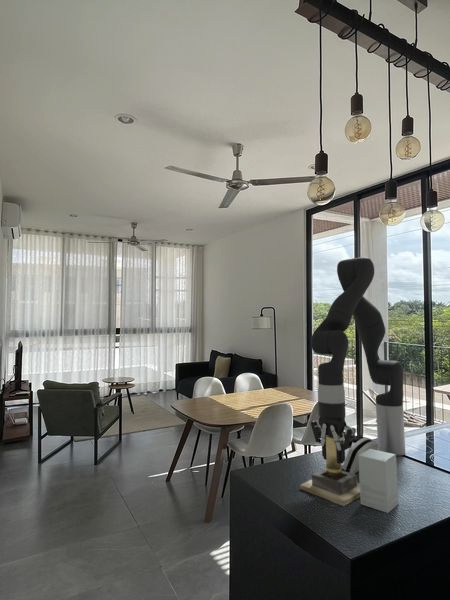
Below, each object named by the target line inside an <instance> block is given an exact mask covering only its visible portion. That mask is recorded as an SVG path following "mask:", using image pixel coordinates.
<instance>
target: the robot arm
mask: <svg viewBox="0 0 450 600" xmlns="http://www.w3.org/2000/svg"><path fill="white" fill-rule="evenodd" d="M336 274H337V278H338V280H339V283H340V286H341V289H342V290H343V292H341V294H339V296H337V297H336V298H335V299H334V301H333V302H332V303H331V306H330V308H329V310H328V313H327V315H326V317H325V318H324V319H323V320H322V321H321V322H320V324H319V325H318V326H317V328H316V329H315V330H314V331H313V333H312V334H311V337H310V347H311V349H312V351H313V352H314V353H315V354H317V355H329V356H330V355H331V356H332V357H331V358H330V361H329V362H323V363H319V365H318V367H317V378H318V379H317V381H318V383H317V384H318V385H317V406H318V407H317V409H318V410H317V411H318V416H319V418H318V420H317V419H316V420H313V421H310V426H311V430H312V433H313V437H314V439H315V443H319V444H320V445H321V456H322V457H323V460H325V461H326V439H325V436H326V435H327V436H332V437H333V438H334V441H335V442H336V445H337V449H338V450H337V463H339V464H343V463H344V462H345V460H346V451H347V450H349V449H350V448H351V447H352V446H353V443H354V438H355V435H356V432H357V430H356V428H355V427H350V426H348V425H347V423H346V392H345V386H344V368H345V367H344V366H345V362H346V361H345V360H346V356H347V352H348V349H349V338H348V336H347V334H346V333H345V332H346V331H347V330H348V328H349V326H350V324H351V321H352V318H353V320H354V321H353V322H354V323H355V328H356V330H357V333H358V335H359V336H358V337H359V338H360V342H361V344H362V348H363V351H364V355H365V360H366V364H367V369H368V373H369V376H370V380H371V381H372V383H374V384H375V385H380V386H389V391H387V392H384V393H380V394H377V395H375V413H376V415H375V417H376V434H377V435H376V436H377V444H378V448H377V450H378V451H382V452H387V453H392V454H396V457H397V456H404V455H405V454H406V440H405V439H406V438H405V437H406V436H405V434H406V433H405V419H404V418H405V417H404V368H403V366H402V362H400V361H398V360H389V359H388V360H387V359H386V360H385V359H380V357H379V348H380V346H381V343H382V342H383V340H384V337H385V335H386V327H385V323H384V319H383V315H382V314H381V311H379V310H378V308H377V307H376V306H375V305H374V304H373V303H371V301H369V300H368V299H367V298H366V297H364V294H365V293H366V292H367V290H368V289H369V287H370V285H371V283H372V282H373V279H374V277H375V265H374V262H373V260H372V259H371V258H369V257H367V256H361V257H353V258H348V259H342V260H341V261H338V263H337V266H336ZM344 432H345V433H344ZM338 436H339V437H340V438H338Z"/></svg>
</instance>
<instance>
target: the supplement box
mask: <svg viewBox="0 0 450 600" xmlns="http://www.w3.org/2000/svg"><path fill="white" fill-rule="evenodd" d="M358 461H359V471H358V475H359V477H358V478H359V479H358V480H359V481H358V482H359V484H360V497H359V498H360V505H363V506H365V507H369V508H372V509H375V510H378V511H380V512H383V513H385V514H386V513H387V514H389V513H390V512H391V511H392V510H393V509H394V508H395V507H397V506H399V503H400V502H399V487H398V486H399V484H398V471H397V470H398V469H397V467H398V466H397V456H396V454H392V453H387V452H382V451H378V449H377V450H373V449H368V450H367V451H365V452H363V453H361V454H360V455H358Z"/></svg>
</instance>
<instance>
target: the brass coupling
mask: <svg viewBox="0 0 450 600" xmlns="http://www.w3.org/2000/svg"><path fill="white" fill-rule="evenodd" d="M338 438H340V437H339V436H338ZM325 439H326V460H325V461H326V462H325V463H326V464H325V465H326V466H325V468H326V473H328V474H330V475H341V474H342V471H343V469H341V464H339V463H337V450H338V449H337V445H336V442H335V441H334V438H333V437H332V436H327V435H326V436H325Z"/></svg>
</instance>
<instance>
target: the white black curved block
mask: <svg viewBox="0 0 450 600" xmlns="http://www.w3.org/2000/svg"><path fill="white" fill-rule="evenodd" d="M368 449H373V450H378V442H377V441H374V440H372V439H371V438H368V437H363V438H360V439H359V440H358V441H356V442H355V443H354V444H352V446H351V448H349V449H348V452H347V455H346V456H345V461H344V462H343V463H342V464H341V469H342V470H343V471H348V473H351V474H354V475H356V473H357V472H358V473H359V461H358V455H360V454H361V453H363V452H365V451H367V450H368Z"/></svg>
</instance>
